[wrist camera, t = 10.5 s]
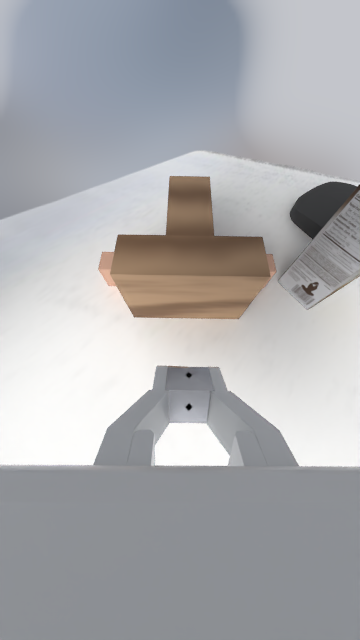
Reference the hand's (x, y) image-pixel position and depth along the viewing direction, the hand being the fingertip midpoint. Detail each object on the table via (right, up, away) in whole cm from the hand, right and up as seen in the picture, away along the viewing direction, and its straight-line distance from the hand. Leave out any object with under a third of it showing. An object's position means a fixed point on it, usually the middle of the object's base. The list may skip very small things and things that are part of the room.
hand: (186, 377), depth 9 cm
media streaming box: (+29, +21, +25) cm, 44 cm away
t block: (+1, +10, +20) cm, 22 cm away
